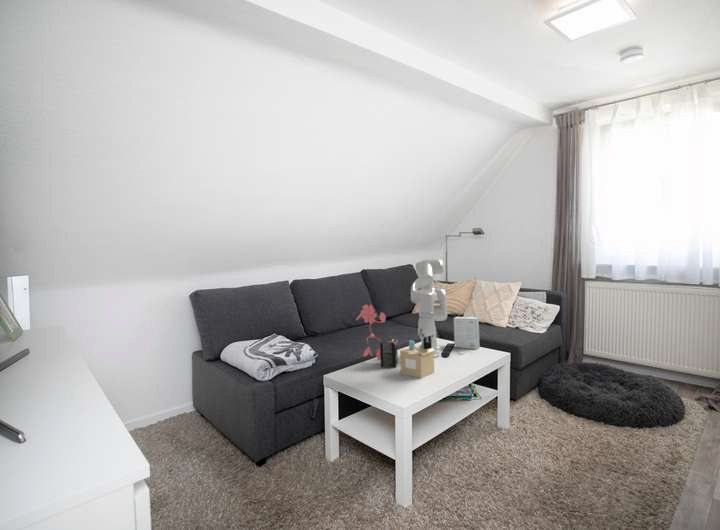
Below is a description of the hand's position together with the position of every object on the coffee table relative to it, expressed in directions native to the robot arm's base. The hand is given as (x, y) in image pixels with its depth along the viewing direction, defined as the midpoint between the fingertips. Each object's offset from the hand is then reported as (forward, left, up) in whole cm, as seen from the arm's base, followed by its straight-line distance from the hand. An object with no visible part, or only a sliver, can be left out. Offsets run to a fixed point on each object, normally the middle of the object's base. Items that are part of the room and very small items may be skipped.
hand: (427, 348), depth 222 cm
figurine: (-3, -46, -15) cm, 49 cm away
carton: (0, -7, -15) cm, 17 cm away
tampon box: (-2, -29, -15) cm, 33 cm away
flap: (0, -2, -1) cm, 2 cm away
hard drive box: (-64, -13, -15) cm, 67 cm away
